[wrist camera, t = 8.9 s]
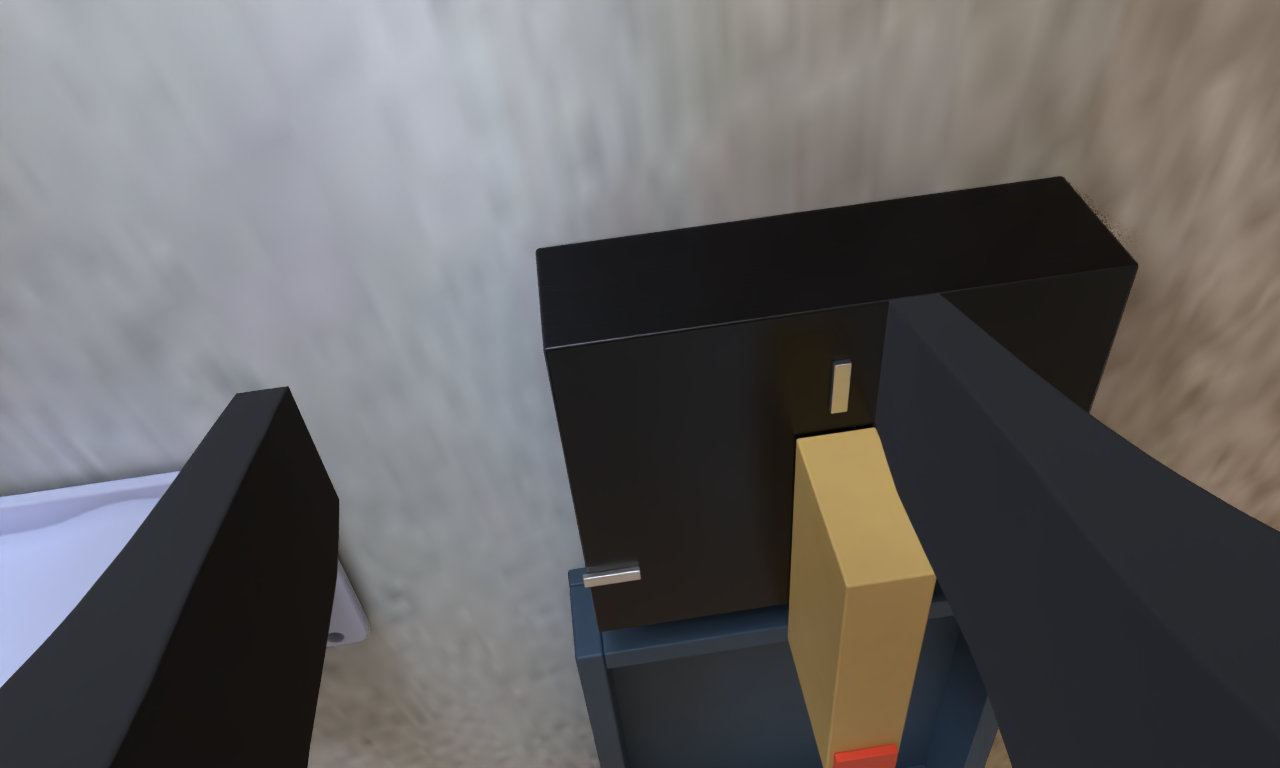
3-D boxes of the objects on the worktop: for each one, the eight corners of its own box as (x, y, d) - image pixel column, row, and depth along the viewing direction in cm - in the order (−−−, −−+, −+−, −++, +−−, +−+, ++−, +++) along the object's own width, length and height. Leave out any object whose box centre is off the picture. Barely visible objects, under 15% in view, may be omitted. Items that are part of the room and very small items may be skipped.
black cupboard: (530, 248, 21) (538, 356, 19) (1067, 173, 22) (1150, 268, 19) (597, 601, 31) (609, 707, 28) (973, 544, 31) (1021, 643, 29)
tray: (618, 806, 41) (627, 884, 38) (567, 569, 29) (575, 659, 27) (936, 755, 41) (963, 828, 39) (1006, 503, 30) (1049, 586, 28)
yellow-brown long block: (795, 437, 21) (850, 597, 18) (875, 426, 22) (942, 583, 18) (787, 637, 27) (827, 786, 24) (850, 627, 27) (899, 774, 24)
